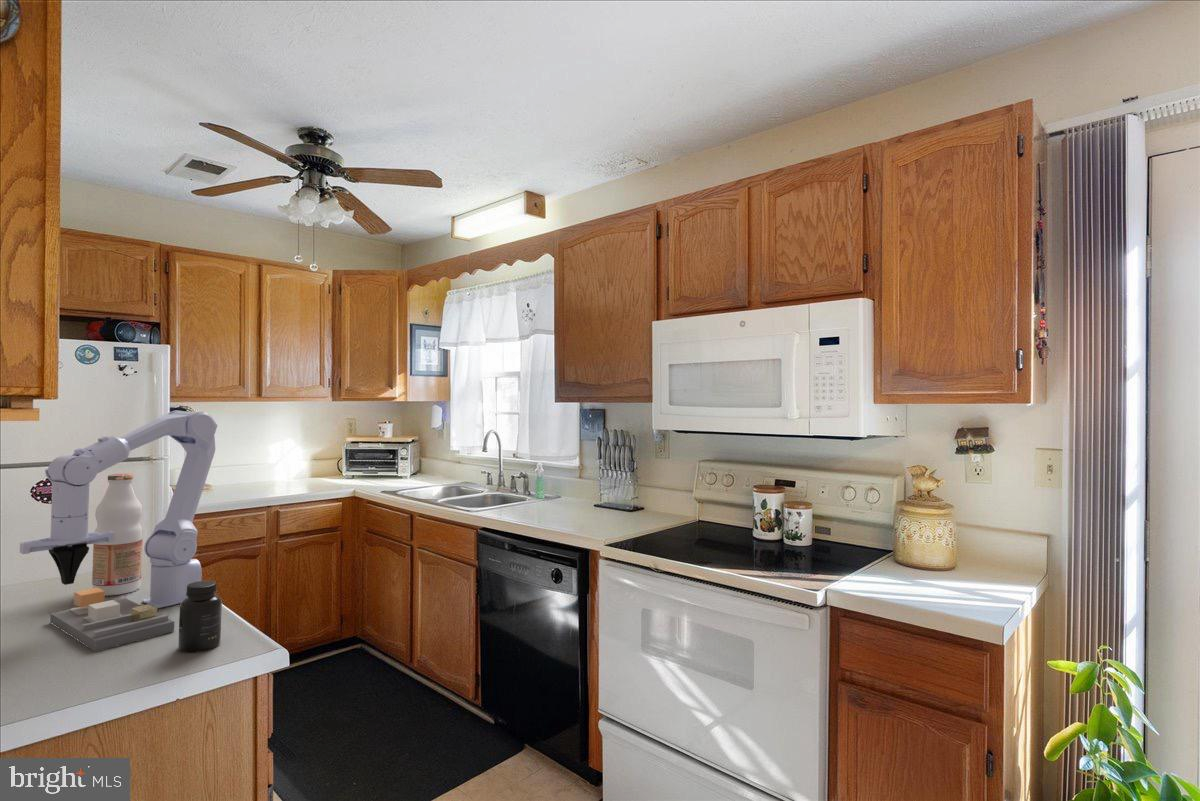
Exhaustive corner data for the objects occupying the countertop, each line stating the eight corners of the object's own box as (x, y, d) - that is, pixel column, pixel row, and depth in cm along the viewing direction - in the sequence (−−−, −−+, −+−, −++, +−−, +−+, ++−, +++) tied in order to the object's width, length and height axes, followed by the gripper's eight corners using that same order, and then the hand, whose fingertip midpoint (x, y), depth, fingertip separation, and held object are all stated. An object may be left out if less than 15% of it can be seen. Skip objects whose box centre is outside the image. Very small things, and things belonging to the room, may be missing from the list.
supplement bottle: (169, 650, 117) (171, 586, 117) (203, 637, 123) (205, 576, 123) (195, 656, 115) (197, 590, 115) (229, 643, 121) (231, 581, 121)
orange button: (97, 599, 134) (97, 587, 134) (104, 602, 132) (104, 591, 132) (73, 603, 131) (74, 591, 131) (80, 607, 129) (81, 595, 129)
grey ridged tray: (125, 607, 139) (125, 593, 139) (174, 631, 126) (174, 616, 126) (50, 623, 129) (50, 608, 129) (95, 651, 115) (95, 635, 115)
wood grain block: (148, 615, 128) (148, 604, 128) (156, 620, 126) (157, 608, 126) (131, 619, 126) (131, 608, 126) (139, 624, 124) (139, 612, 124)
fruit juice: (82, 597, 145) (86, 476, 145) (105, 585, 154) (108, 472, 154) (129, 595, 147) (133, 477, 147) (148, 584, 156) (152, 472, 156)
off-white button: (111, 612, 130) (112, 600, 130) (119, 616, 128) (120, 603, 128) (88, 617, 126) (88, 604, 126) (95, 621, 124) (96, 609, 124)
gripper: (105, 508, 133) (103, 572, 133) (15, 517, 121) (13, 587, 121) (119, 512, 130) (117, 578, 129) (27, 522, 117) (25, 594, 117)
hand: (67, 583), depth 125 cm, fingers closed
